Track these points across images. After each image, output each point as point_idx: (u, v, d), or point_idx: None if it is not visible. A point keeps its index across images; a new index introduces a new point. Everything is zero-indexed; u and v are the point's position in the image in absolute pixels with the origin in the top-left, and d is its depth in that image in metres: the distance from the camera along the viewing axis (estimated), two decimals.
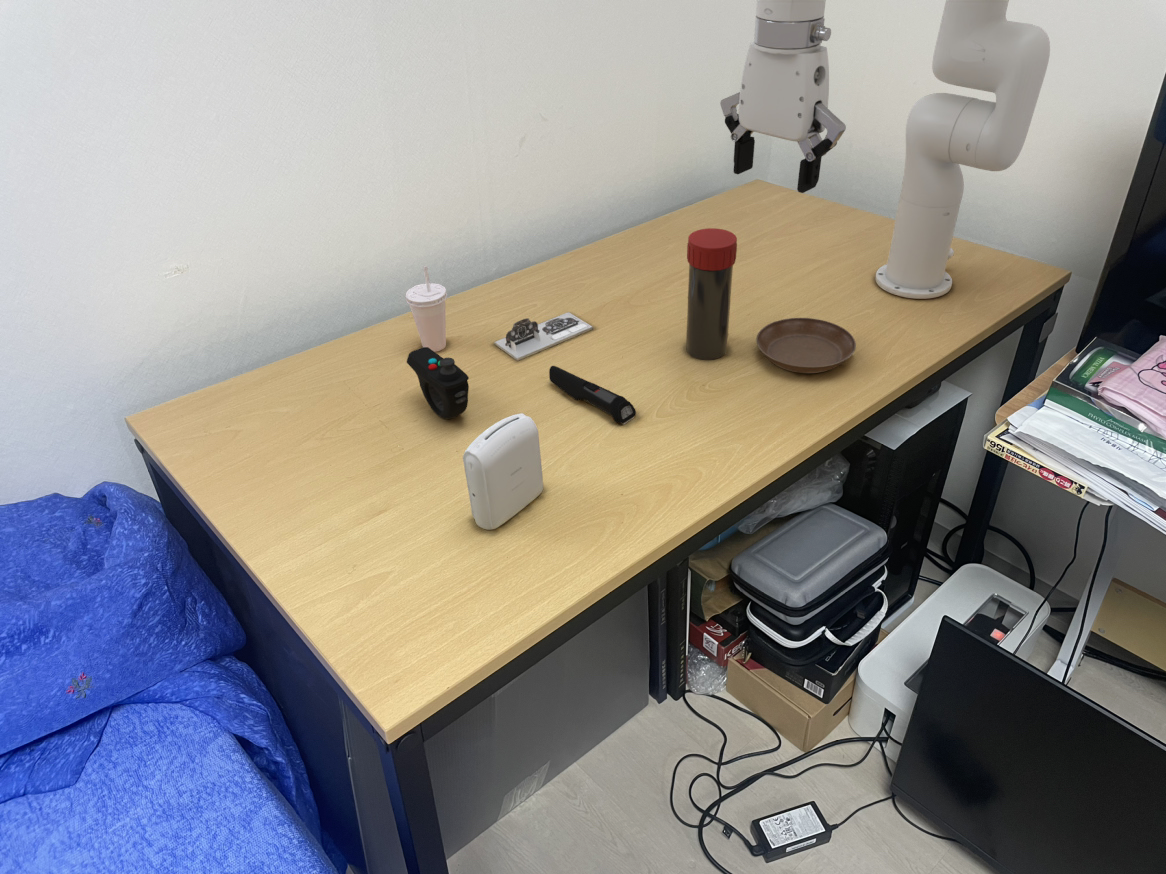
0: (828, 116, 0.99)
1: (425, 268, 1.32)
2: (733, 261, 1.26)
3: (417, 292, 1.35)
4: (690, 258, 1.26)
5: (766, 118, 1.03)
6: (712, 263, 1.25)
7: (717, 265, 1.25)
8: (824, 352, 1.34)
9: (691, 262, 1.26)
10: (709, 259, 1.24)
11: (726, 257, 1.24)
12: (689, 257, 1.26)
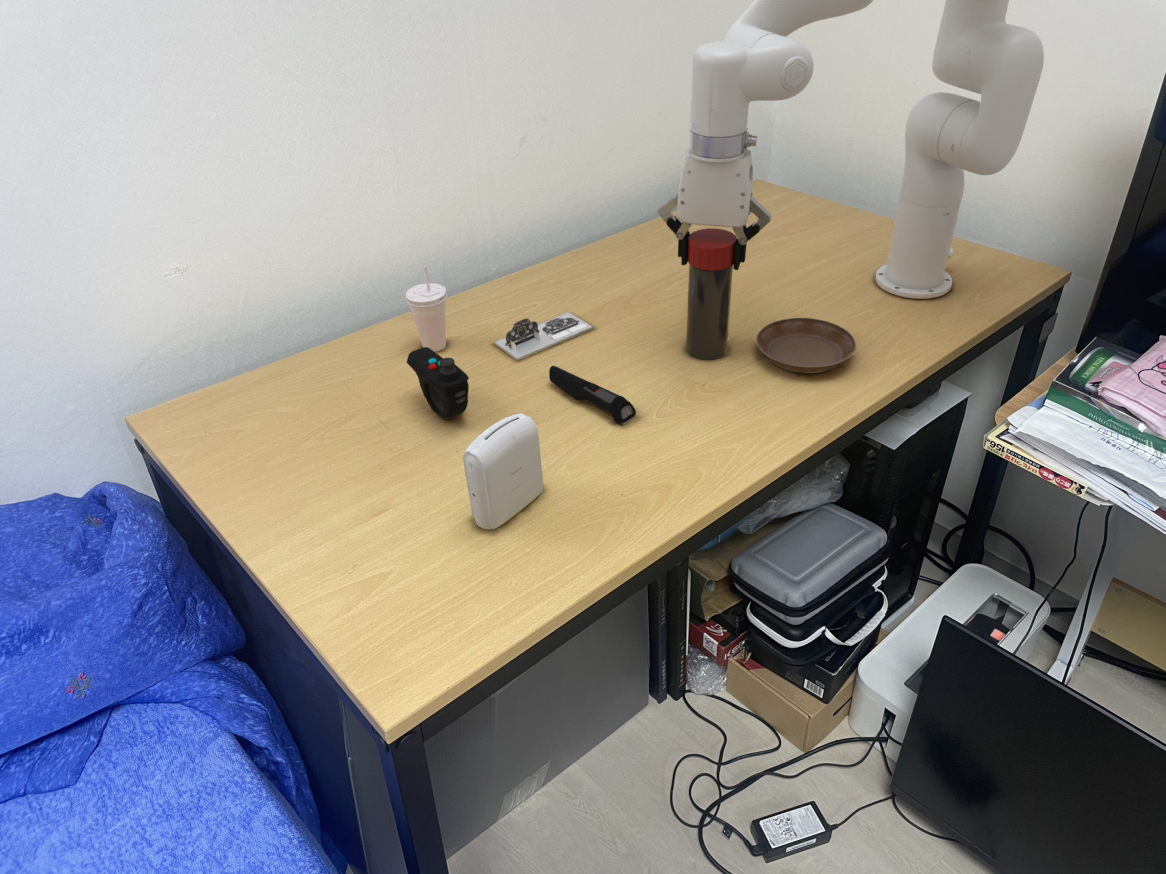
0: (760, 208, 1.21)
1: (425, 268, 1.32)
2: (733, 261, 1.26)
3: (417, 292, 1.35)
4: (690, 258, 1.26)
5: (709, 212, 1.21)
6: (712, 263, 1.25)
7: (717, 265, 1.25)
8: (824, 352, 1.34)
9: (691, 262, 1.26)
10: (709, 259, 1.24)
11: (726, 257, 1.24)
12: (689, 257, 1.26)
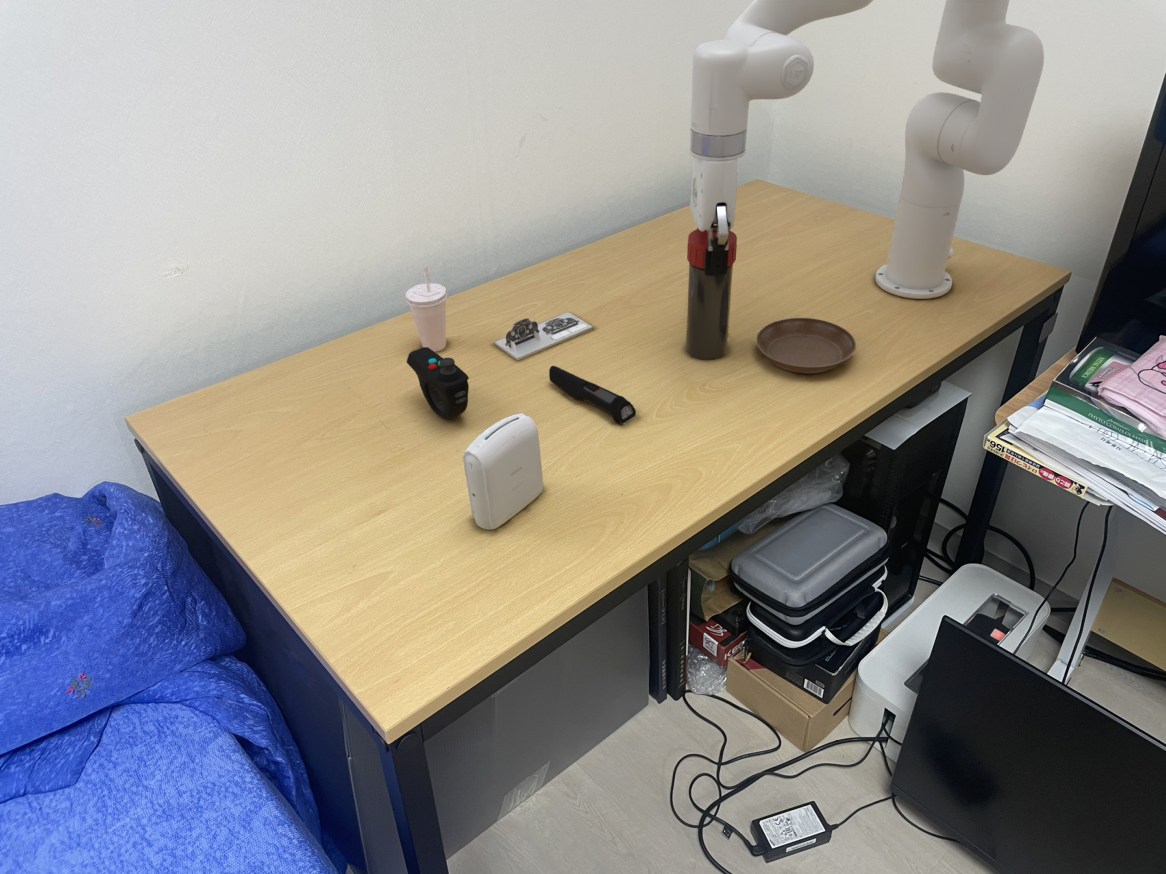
0: None
1: (425, 268, 1.32)
2: None
3: (417, 292, 1.35)
4: (729, 259, 1.25)
5: None
6: None
7: None
8: (824, 352, 1.34)
9: (730, 263, 1.25)
10: None
11: None
12: (728, 260, 1.25)
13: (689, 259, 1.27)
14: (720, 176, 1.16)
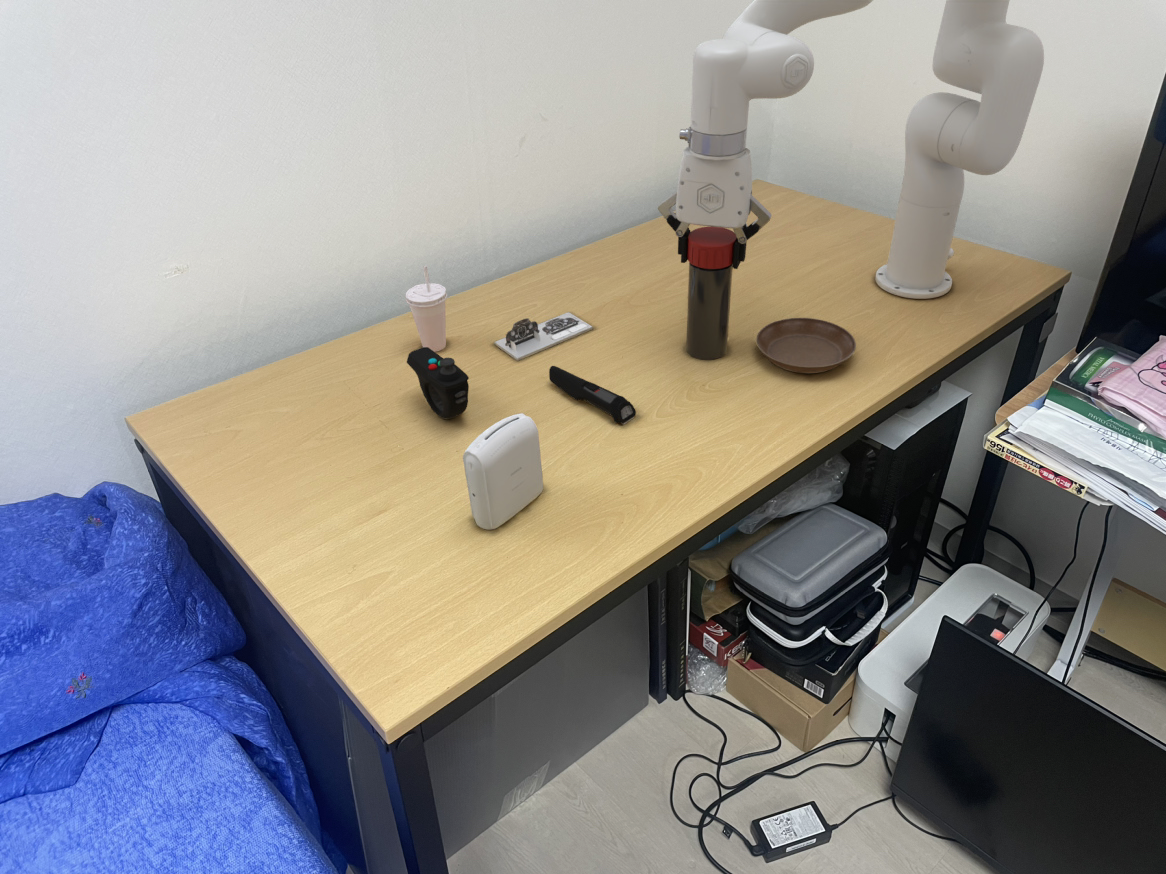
0: (670, 196, 1.25)
1: (425, 268, 1.32)
2: None
3: (417, 292, 1.35)
4: None
5: None
6: None
7: None
8: (824, 352, 1.34)
9: None
10: None
11: None
12: None
13: (712, 265, 1.25)
14: (750, 166, 1.18)
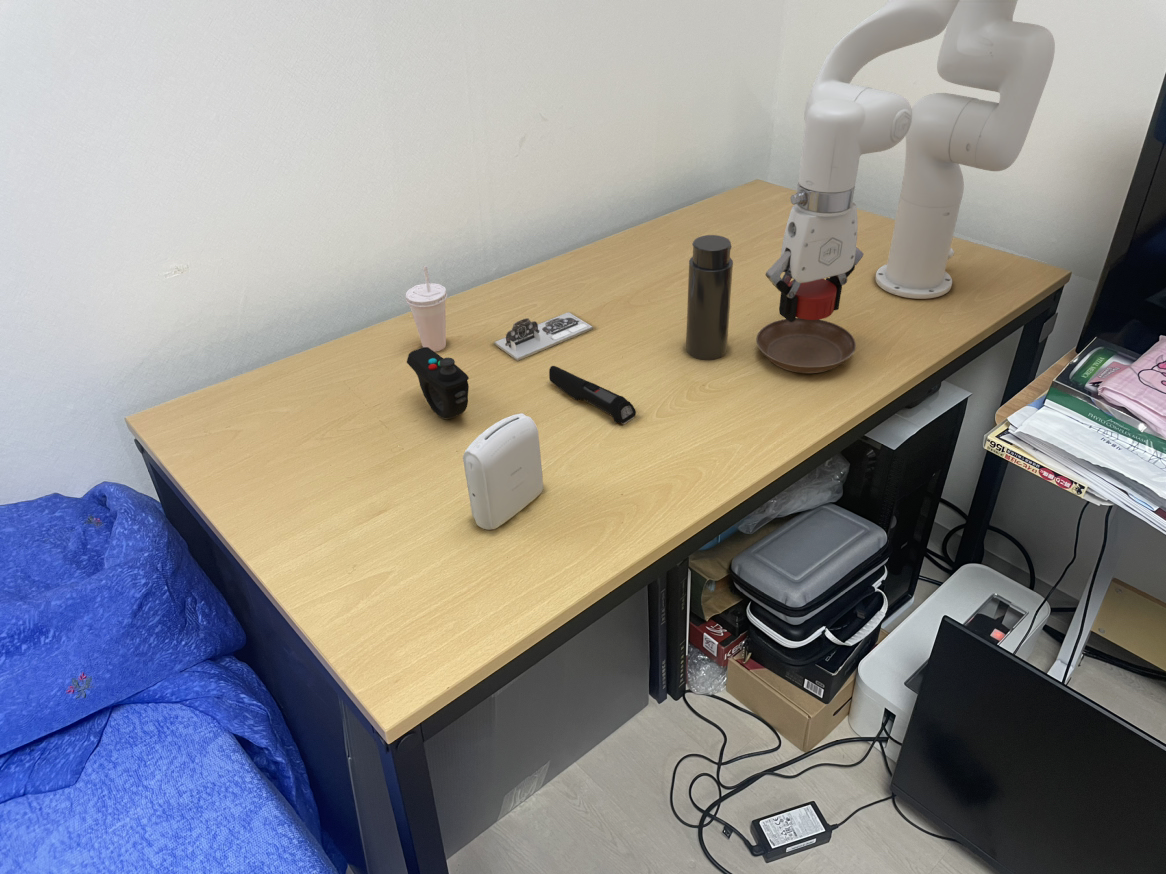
0: (775, 262, 1.23)
1: (425, 268, 1.32)
2: None
3: (417, 292, 1.35)
4: None
5: None
6: None
7: None
8: (824, 352, 1.34)
9: None
10: None
11: None
12: None
13: (828, 313, 1.27)
14: None
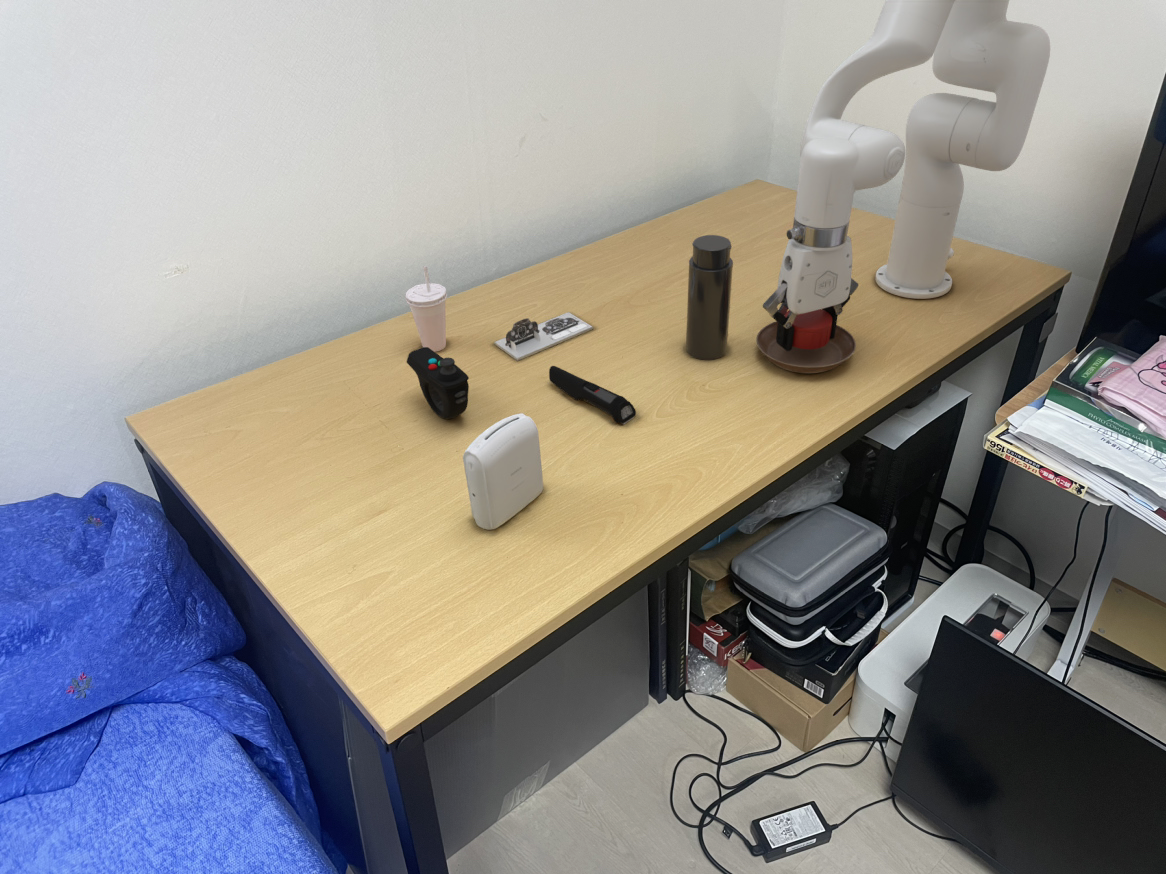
0: (772, 294, 1.25)
1: (425, 268, 1.32)
2: None
3: (417, 292, 1.35)
4: None
5: None
6: None
7: None
8: (824, 352, 1.34)
9: None
10: None
11: None
12: None
13: (824, 343, 1.30)
14: None
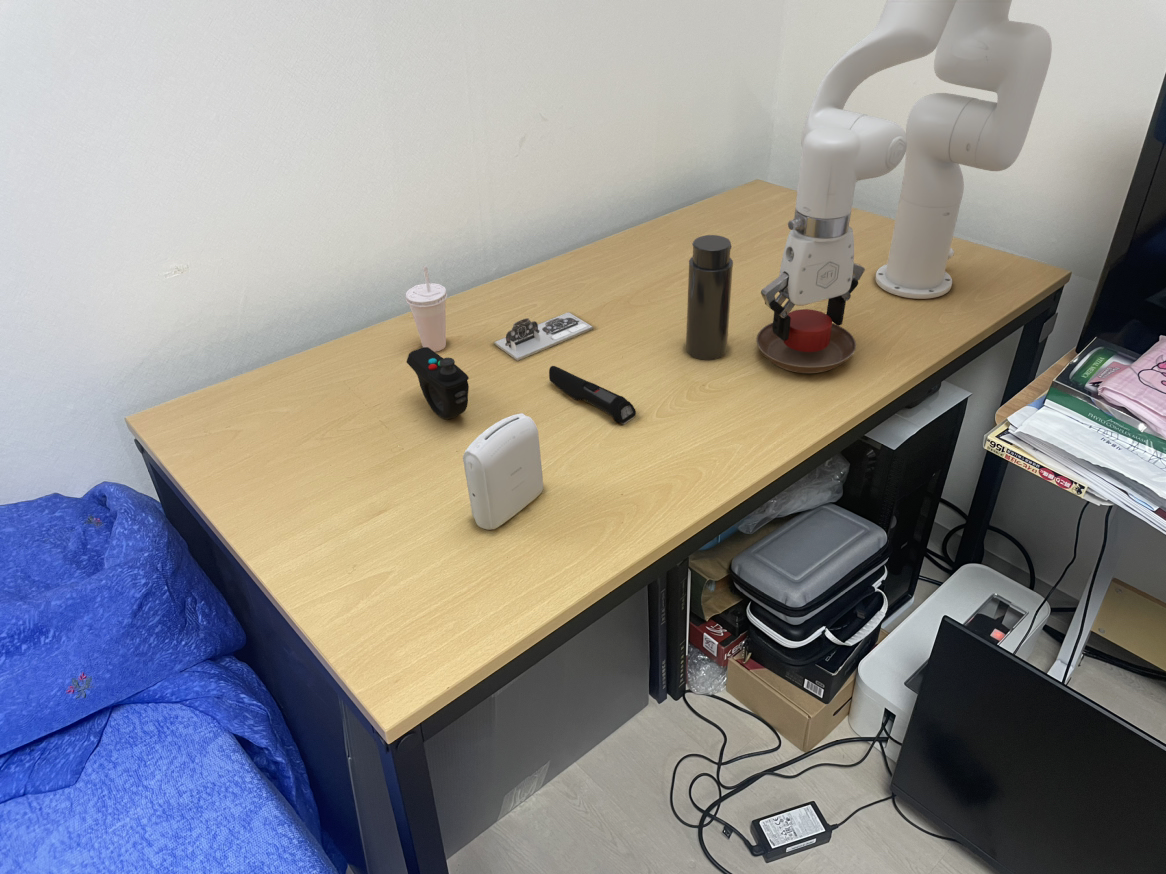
0: (772, 282, 1.24)
1: (425, 268, 1.32)
2: None
3: (417, 292, 1.35)
4: None
5: None
6: None
7: None
8: (824, 352, 1.34)
9: None
10: None
11: None
12: None
13: (824, 346, 1.30)
14: None
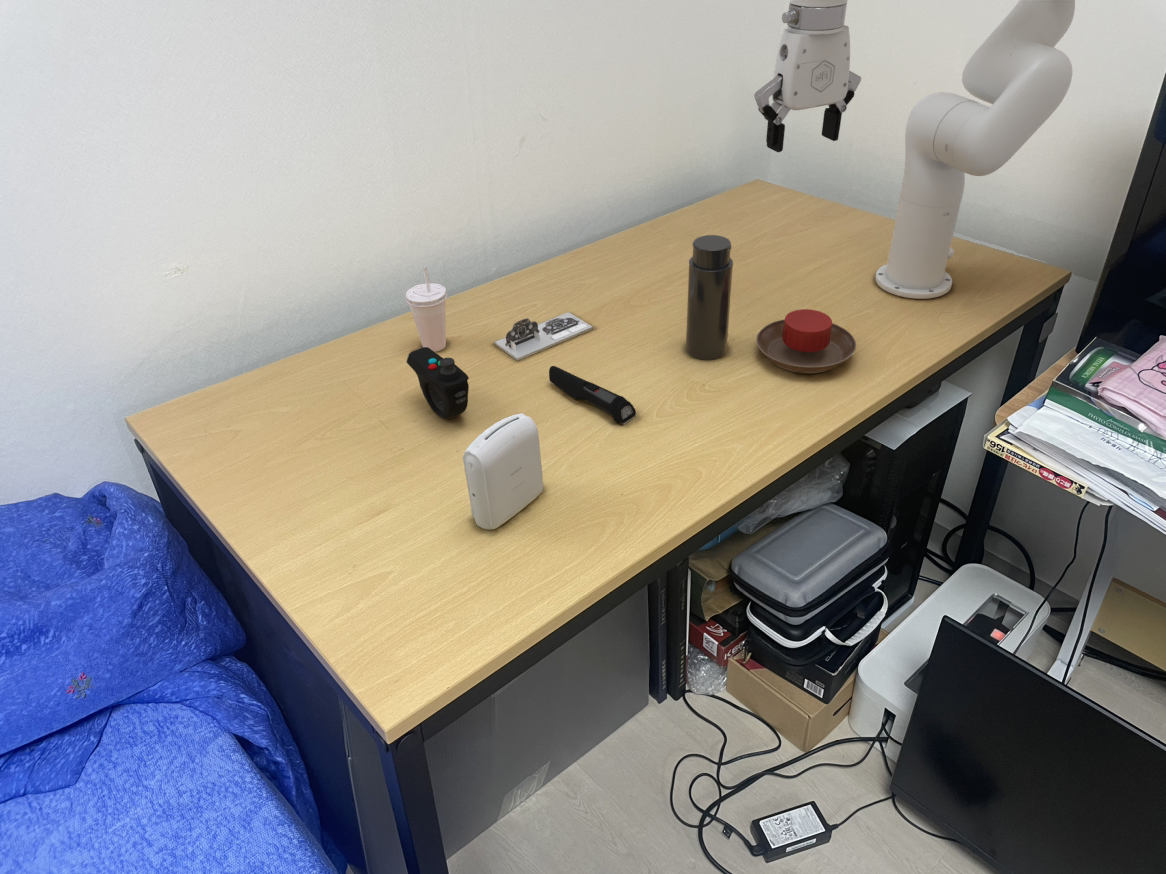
0: (766, 84, 1.21)
1: (425, 268, 1.32)
2: (783, 339, 1.32)
3: (417, 292, 1.35)
4: None
5: None
6: None
7: None
8: (824, 352, 1.34)
9: None
10: None
11: None
12: None
13: (824, 346, 1.30)
14: None
